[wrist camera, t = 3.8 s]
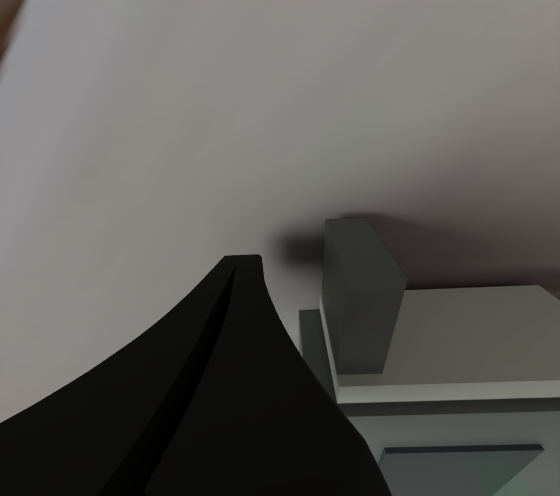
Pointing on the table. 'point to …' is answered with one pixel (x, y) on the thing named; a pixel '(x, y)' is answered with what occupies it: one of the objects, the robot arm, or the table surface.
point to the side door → (429, 330)
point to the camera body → (450, 437)
